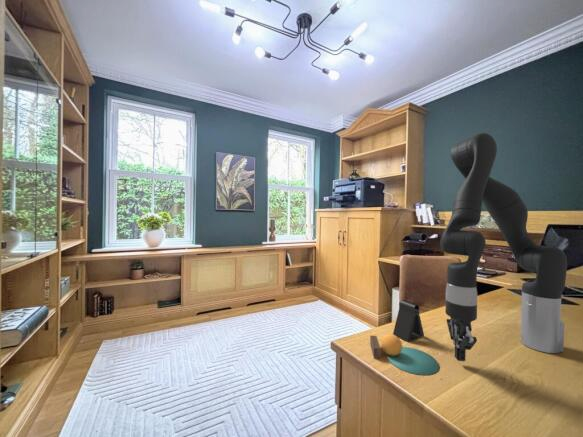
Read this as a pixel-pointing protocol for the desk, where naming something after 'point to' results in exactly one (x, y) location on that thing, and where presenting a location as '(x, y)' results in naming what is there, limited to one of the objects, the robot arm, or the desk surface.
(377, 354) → the stop bar
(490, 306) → the desk surface
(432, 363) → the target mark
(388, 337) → the ball
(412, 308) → the phone stand
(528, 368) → the desk surface
